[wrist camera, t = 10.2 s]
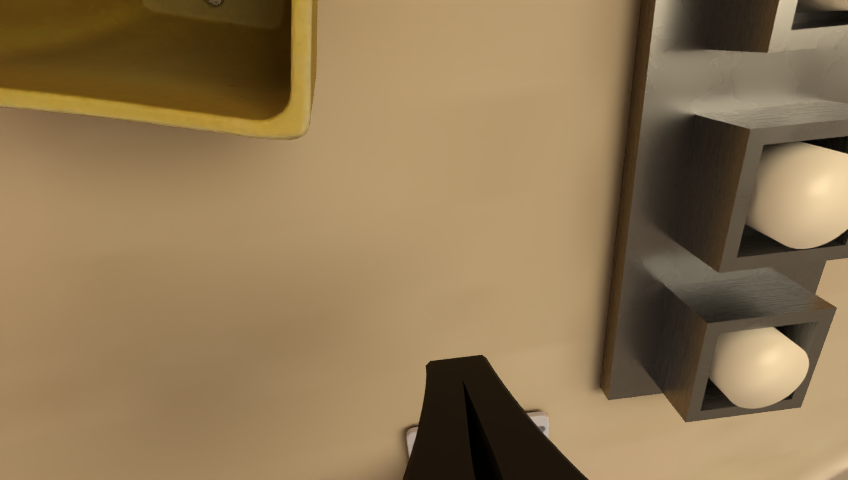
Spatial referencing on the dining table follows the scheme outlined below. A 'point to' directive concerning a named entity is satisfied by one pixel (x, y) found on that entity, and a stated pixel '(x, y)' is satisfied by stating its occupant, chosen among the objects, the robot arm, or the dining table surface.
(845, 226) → the knob middle
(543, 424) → the robot arm
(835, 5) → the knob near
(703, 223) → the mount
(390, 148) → the dining table surface
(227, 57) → the flower pot
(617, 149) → the dining table surface
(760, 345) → the knob far
